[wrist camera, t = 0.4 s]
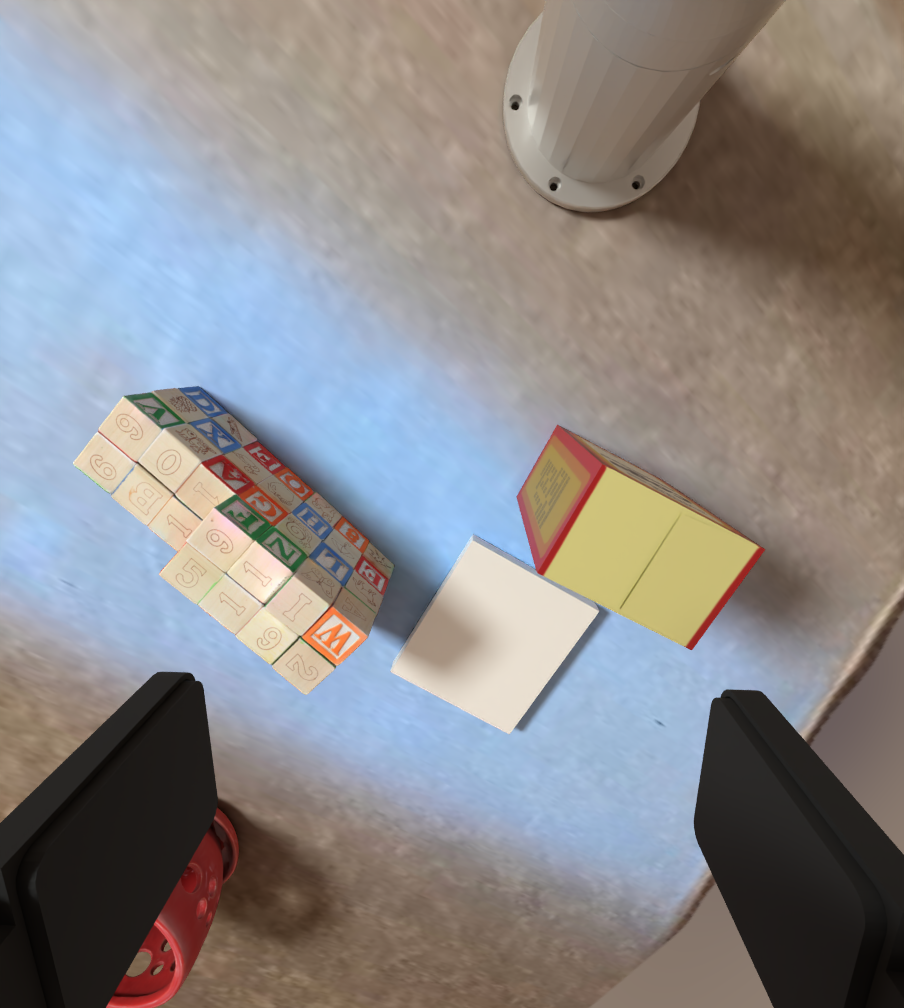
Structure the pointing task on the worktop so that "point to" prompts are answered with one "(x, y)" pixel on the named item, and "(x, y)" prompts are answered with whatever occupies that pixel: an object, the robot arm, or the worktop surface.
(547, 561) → the baking soda box
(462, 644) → the cutting board
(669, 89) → the robot arm
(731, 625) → the worktop surface
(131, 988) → the plant pot
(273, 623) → the stack of blocks
